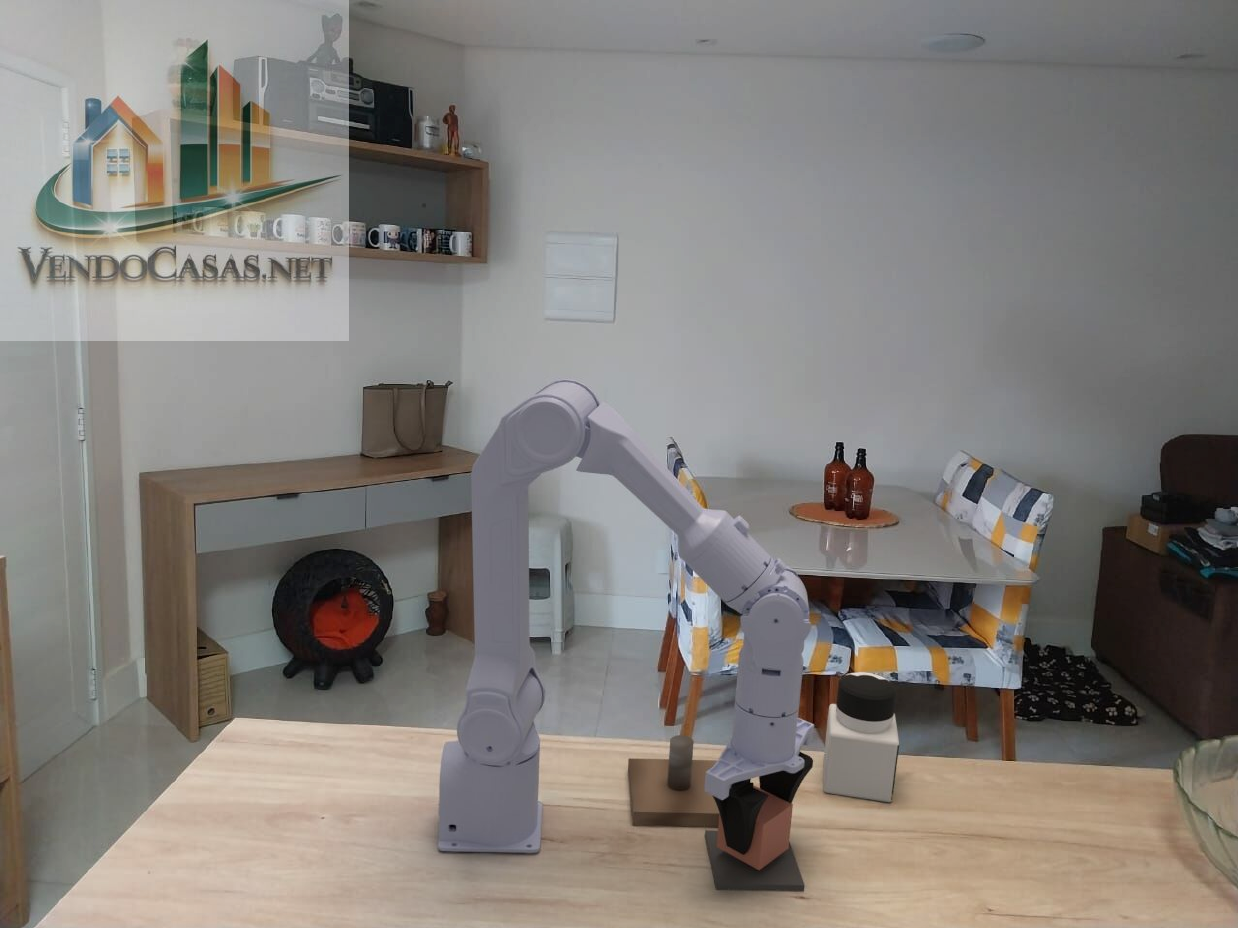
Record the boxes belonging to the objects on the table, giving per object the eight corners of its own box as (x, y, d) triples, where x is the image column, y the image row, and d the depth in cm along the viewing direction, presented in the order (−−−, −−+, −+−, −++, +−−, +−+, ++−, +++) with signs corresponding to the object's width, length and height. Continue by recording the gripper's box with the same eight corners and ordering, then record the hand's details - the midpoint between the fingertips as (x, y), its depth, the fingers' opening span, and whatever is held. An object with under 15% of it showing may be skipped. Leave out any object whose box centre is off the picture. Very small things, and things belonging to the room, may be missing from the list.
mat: (715, 889, 87) (716, 883, 87) (704, 835, 95) (705, 830, 95) (804, 890, 88) (804, 884, 87) (785, 837, 95) (786, 831, 95)
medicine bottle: (892, 804, 102) (905, 699, 99) (823, 793, 103) (834, 690, 101) (887, 769, 109) (900, 670, 106) (823, 759, 110) (833, 661, 107)
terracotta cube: (759, 870, 88) (763, 824, 87) (716, 846, 91) (720, 802, 90) (788, 848, 91) (792, 804, 90) (746, 826, 94) (750, 783, 93)
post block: (632, 825, 96) (636, 765, 95) (627, 770, 106) (630, 716, 104) (732, 826, 97) (737, 768, 95) (718, 772, 106) (723, 718, 105)
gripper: (757, 747, 80) (744, 891, 83) (847, 692, 90) (832, 822, 93) (690, 716, 84) (680, 853, 87) (783, 668, 95) (771, 792, 98)
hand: (754, 835), depth 91 cm, fingers open, 5 cm apart
